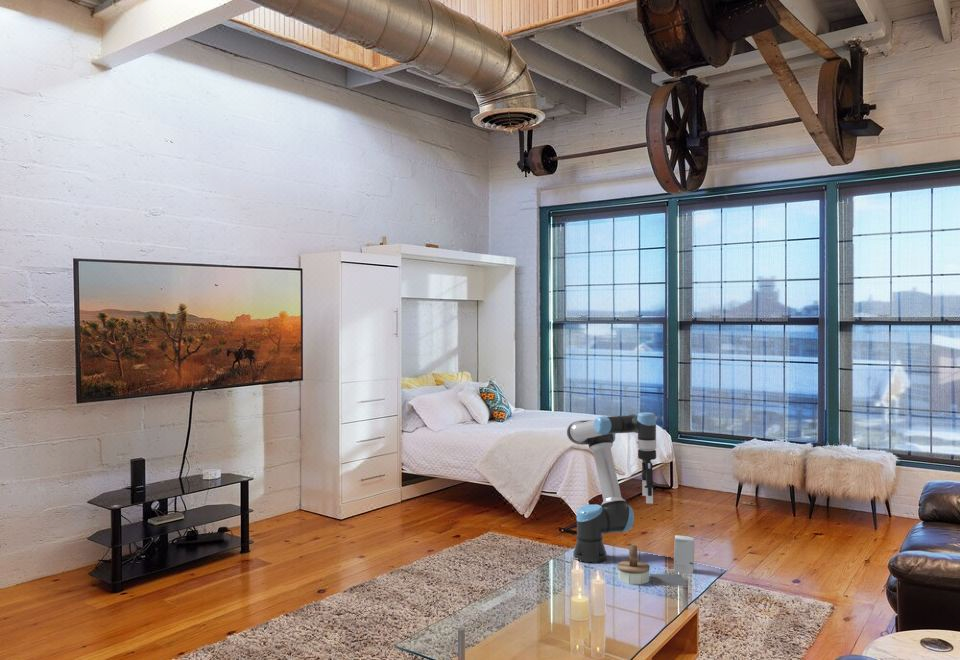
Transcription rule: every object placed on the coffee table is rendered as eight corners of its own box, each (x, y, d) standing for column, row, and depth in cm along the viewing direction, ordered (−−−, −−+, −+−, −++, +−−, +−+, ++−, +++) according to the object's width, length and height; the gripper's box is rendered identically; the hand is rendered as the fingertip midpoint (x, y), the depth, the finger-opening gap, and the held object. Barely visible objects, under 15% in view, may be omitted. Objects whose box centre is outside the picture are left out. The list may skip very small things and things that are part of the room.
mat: (649, 575, 304) (649, 574, 304) (680, 575, 303) (680, 574, 303) (654, 586, 291) (654, 584, 291) (687, 586, 290) (687, 585, 290)
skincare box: (673, 572, 307) (673, 538, 307) (674, 568, 312) (674, 534, 312) (694, 575, 304) (693, 539, 304) (694, 570, 310) (694, 536, 309)
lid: (616, 563, 305) (615, 541, 305) (647, 563, 304) (646, 541, 304) (619, 573, 292) (619, 550, 292) (651, 573, 291) (651, 551, 291)
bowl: (617, 575, 305) (617, 563, 305) (646, 575, 304) (646, 563, 304) (620, 585, 293) (620, 573, 293) (650, 585, 292) (650, 573, 292)
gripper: (635, 444, 317) (635, 492, 317) (641, 454, 292) (641, 506, 292) (652, 444, 316) (652, 492, 316) (660, 454, 291) (660, 506, 291)
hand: (647, 499), depth 304 cm, fingers open, 13 cm apart
